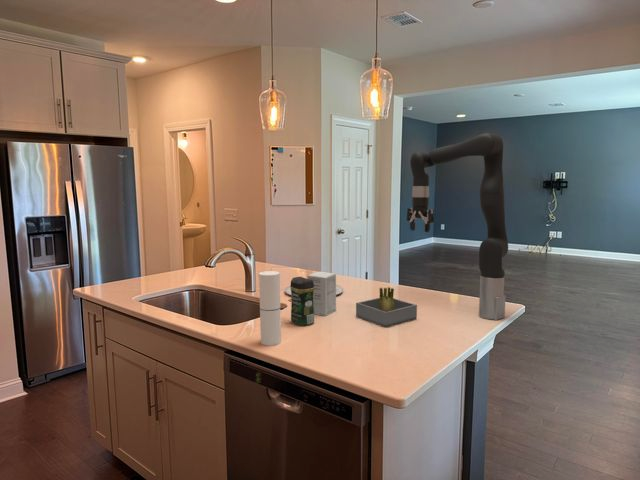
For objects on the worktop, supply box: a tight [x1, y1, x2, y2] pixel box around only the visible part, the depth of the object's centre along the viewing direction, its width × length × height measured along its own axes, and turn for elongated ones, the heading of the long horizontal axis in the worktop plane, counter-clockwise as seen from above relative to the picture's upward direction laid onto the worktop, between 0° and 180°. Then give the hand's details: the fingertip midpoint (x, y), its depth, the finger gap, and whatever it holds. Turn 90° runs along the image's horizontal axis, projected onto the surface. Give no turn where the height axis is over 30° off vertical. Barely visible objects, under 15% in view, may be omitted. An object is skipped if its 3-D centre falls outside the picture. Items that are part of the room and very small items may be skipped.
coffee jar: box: [289, 276, 315, 326], centre depth 178 cm, size 10×8×19 cm
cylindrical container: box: [258, 270, 282, 347], centre depth 157 cm, size 7×7×25 cm
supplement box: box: [306, 271, 337, 317], centre depth 193 cm, size 10×9×17 cm
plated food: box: [284, 284, 344, 296], centre depth 228 cm, size 30×30×3 cm
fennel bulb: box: [379, 286, 395, 312], centre depth 184 cm, size 6×5×12 cm
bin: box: [355, 297, 418, 329], centre depth 184 cm, size 18×18×6 cm
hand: (419, 231), depth 206 cm, fingers open, 8 cm apart
